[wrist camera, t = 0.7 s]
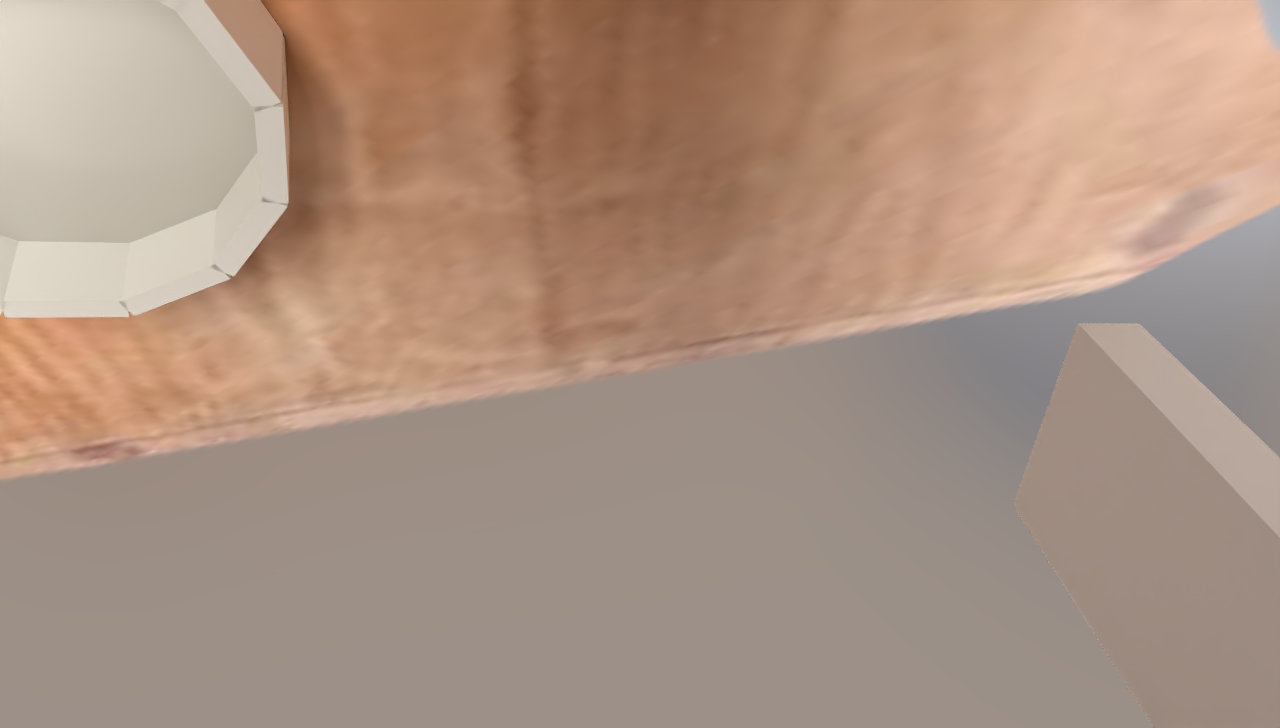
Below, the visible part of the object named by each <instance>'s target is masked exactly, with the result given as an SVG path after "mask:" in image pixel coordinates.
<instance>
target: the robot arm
mask: <svg viewBox="0 0 1280 728" xmlns="http://www.w3.org/2000/svg"><path fill="white" fill-rule="evenodd" d="M1013 506H1014V508H1015V510H1016V511H1017V513H1018V514H1019V516H1020V518H1021V519H1022V521H1023V522H1024V524H1025V525H1026V527H1027V529H1028V530H1029V532H1030V533H1031V535H1032V536H1033V538H1034V540H1035V541H1036V543H1037V544H1038V546H1039V547H1040V549H1041V551H1042V552H1043V554H1044V555H1045V557H1046V559H1047V560H1048V562H1049V563H1050V565H1051V567H1052V568H1053V570H1054V571H1055V573H1056V574H1057V576H1058V577H1059V579H1060V581H1061V582H1062V584H1063V585H1064V587H1065V589H1066V590H1067V592H1068V593H1069V595H1070V597H1071V598H1072V599H1073V601H1074V602H1075V604H1076V606H1077V607H1078V609H1079V611H1080V612H1081V614H1082V615H1083V617H1084V618H1085V620H1086V622H1087V623H1088V625H1089V627H1090V628H1091V630H1092V631H1093V633H1094V634H1095V636H1096V638H1097V639H1098V641H1099V642H1100V644H1101V645H1102V647H1103V649H1104V650H1105V652H1106V653H1107V655H1108V657H1109V658H1110V660H1111V661H1112V663H1113V664H1114V666H1115V668H1116V669H1117V671H1118V672H1119V674H1120V675H1121V677H1122V678H1123V680H1124V682H1125V683H1126V685H1127V686H1128V688H1129V690H1130V691H1131V693H1132V694H1133V696H1134V698H1135V699H1136V701H1137V702H1138V704H1139V705H1140V707H1141V709H1142V710H1143V712H1144V713H1145V715H1146V717H1147V718H1148V720H1149V721H1150V723H1151V724H1152V726H1153V727H1154V728H1280V458H1279V457H1278V456H1277V455H1276V454H1275V453H1274V452H1273V451H1272V450H1271V449H1270V448H1269V447H1268V446H1267V445H1266V444H1265V443H1264V442H1263V441H1262V440H1261V439H1259V437H1257V436H1256V435H1255V434H1254V433H1253V432H1252V431H1251V430H1250V429H1249V428H1248V427H1247V426H1246V425H1245V424H1244V423H1243V422H1242V421H1240V419H1239V418H1238V417H1236V416H1235V415H1234V414H1233V413H1232V412H1231V411H1230V410H1229V409H1228V408H1227V407H1226V406H1225V405H1224V404H1223V403H1222V402H1220V400H1219V399H1218V398H1217V397H1216V396H1215V395H1213V394H1212V393H1211V392H1210V391H1209V390H1208V389H1207V388H1206V387H1205V386H1204V385H1203V384H1202V383H1201V382H1200V381H1199V380H1198V379H1197V378H1196V377H1195V376H1194V375H1193V374H1191V373H1190V372H1189V371H1188V370H1187V369H1186V368H1185V367H1184V366H1183V365H1182V364H1181V363H1180V362H1179V361H1178V360H1177V359H1176V358H1175V357H1174V356H1173V355H1172V354H1171V353H1170V352H1168V351H1167V350H1166V349H1165V348H1164V347H1163V346H1162V345H1161V344H1160V343H1159V342H1158V341H1157V340H1156V339H1155V338H1154V337H1153V336H1152V335H1151V334H1150V333H1149V332H1148V331H1147V330H1145V329H1144V328H1143V327H1142V326H1141V325H1140V324H1097V323H1096V324H1095V323H1092V324H1089V323H1088V324H1087V323H1078V325H1077V327H1076V330H1075V333H1074V336H1073V338H1072V341H1071V344H1070V347H1069V350H1068V352H1067V355H1066V358H1065V361H1064V364H1063V367H1062V369H1061V372H1060V375H1059V377H1058V381H1057V383H1056V386H1055V389H1054V391H1053V394H1052V397H1051V400H1050V403H1049V405H1048V408H1047V411H1046V414H1045V417H1044V419H1043V422H1042V425H1041V428H1040V431H1039V433H1038V436H1037V439H1036V442H1035V444H1034V447H1033V450H1032V453H1031V456H1030V459H1029V461H1028V464H1027V467H1026V470H1025V473H1024V475H1023V478H1022V481H1021V483H1020V486H1019V489H1018V492H1017V495H1016V497H1015V500H1014V503H1013Z"/></svg>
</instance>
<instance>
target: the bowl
mask: <svg viewBox="0 0 1280 728" xmlns="http://www.w3.org/2000/svg"><path fill="white" fill-rule="evenodd" d="M289 141H290V130H289V111H288V93H287V74H286V55H285V37H283V31H282V30H281V29H280V27H279V26H278V24H277V23H276V22H275V20H274V19H273V17H272V16H271V14H270V13H269V12H268V10H267V9H266V7H265V6H264V5H263V3H262V2H261V0H0V315H1V313H2V311H3V312H4V315H5V317H6V318H14V317H129V316H130V313H132V314H133V315H134V316H136V315H139V314H141V313H144V312H146V311H149V310H151V309H154V308H157V307H159V306H162V305H164V304H167V303H170V302H172V301H175V300H177V299H180V298H183V297H185V296H188V295H190V294H193V293H196V292H198V291H201V290H203V289H206V288H208V287H211V286H214V285H216V284H219V283H221V282H224V281H227V280H229V279H230V276H235V275H236V273H237V272H238V271H239V269H240V268H241V267H242V265H243V264H244V263H245V262H246V260H247V259H248V258H249V256H250V255H251V254H252V252H253V251H254V250H255V249H256V247H257V246H258V245H259V243H260V242H261V241H262V239H263V238H264V237H265V236H266V234H267V233H268V232H269V230H270V229H271V228H272V226H273V225H274V224H275V223H276V221H277V220H278V219H279V217H280V216H281V215H282V214H283V212H284V211H285V210H286V208H287V207H288V203H289Z"/></svg>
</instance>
